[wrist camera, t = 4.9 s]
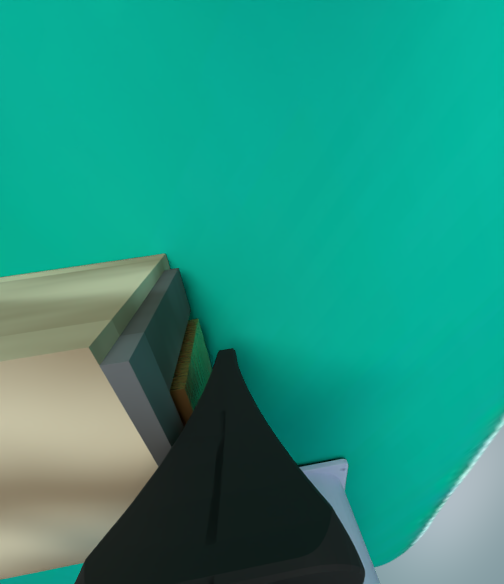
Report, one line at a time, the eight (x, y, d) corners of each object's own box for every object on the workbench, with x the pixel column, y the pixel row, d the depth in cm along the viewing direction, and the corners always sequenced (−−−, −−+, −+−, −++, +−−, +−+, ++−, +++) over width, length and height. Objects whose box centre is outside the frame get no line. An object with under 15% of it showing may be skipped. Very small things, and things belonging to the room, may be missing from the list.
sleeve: (219, 398, 15) (215, 535, 9) (54, 426, 14) (-61, 592, 8) (178, 251, 10) (119, 342, 4) (-66, 287, 10) (-486, 439, 4)
